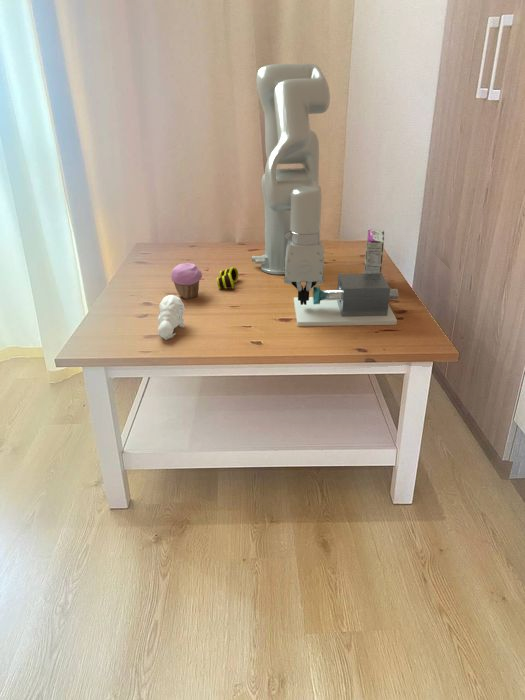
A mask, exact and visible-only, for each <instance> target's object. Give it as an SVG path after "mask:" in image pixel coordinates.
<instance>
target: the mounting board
mask: <svg viewBox="0 0 525 700" xmlns="http://www.w3.org/2000/svg"><path fill="white" fill-rule="evenodd" d="M293 305H294V311H295V318H296V325H297V326H296V327H323V326H325V327H327V326H328V327H329V326H330V327H331V326H332V327H333V326H335V327H337V326H338V327H339V326H383V325H386V326H387V325H388V326H389V325H390V326H392V325H394V326H395V325H397V323H398V320H397V318H396V316H395V313H394V312H393V310H392V308H391V306H390V303H389V304H388V313H387V316H356V317H342V315H341V312H340V309H339V306H338V303H337V300H323V301H320V304H313V296H309V301H307V302H306V305H304V302H303V305H301V303H300V301H298V296H297V297H293Z"/></svg>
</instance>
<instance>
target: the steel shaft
mask: <svg viewBox="0 0 525 700" xmlns="http://www.w3.org/2000/svg"><path fill="white" fill-rule="evenodd" d="M341 294H342V291H341V290H338V289H321V287H320V286H319V285H318V286H317V285H315V286H313V287H312V297H313V304H320V301H323V300H341ZM398 299H399V289H398V288H390V295H389V300H398Z"/></svg>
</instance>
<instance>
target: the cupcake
mask: <svg viewBox="0 0 525 700" xmlns="http://www.w3.org/2000/svg"><path fill="white" fill-rule="evenodd" d="M202 277H203V273H202V271H201V270H200V269H199V268H198V266H197V265H196V264H194V263H192V262H191V263H189V262H188V263H186V262H185V263H179V264H178V265H176V266H175V267H173V269H172V271H171V276H170V278H171V279H170V280H171V282H172V283H174V287H175V290H176V292H177V294H178V295H179V296H180V297H181V298H184V299H185V300H187V299H192V298H195V297H198V295H199V291H200V289H199V288H200V281H201V280H202ZM179 296H178V297H179Z"/></svg>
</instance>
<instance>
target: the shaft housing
mask: <svg viewBox="0 0 525 700" xmlns="http://www.w3.org/2000/svg"><path fill="white" fill-rule="evenodd" d="M337 275H338V276H337V290H341V291H342V294H341V300H337V303H338V306H339V309H340V312H341V315H342V317H356V316H387V313H388V304H389V305H390V303H389V302H390V299H389V295H390V289H391V287H390V285H389V284H388V282H387V280H386V278H385V275H384V274H383V273H382V272H381V273H375V274H364V273H338V274H337Z"/></svg>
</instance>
